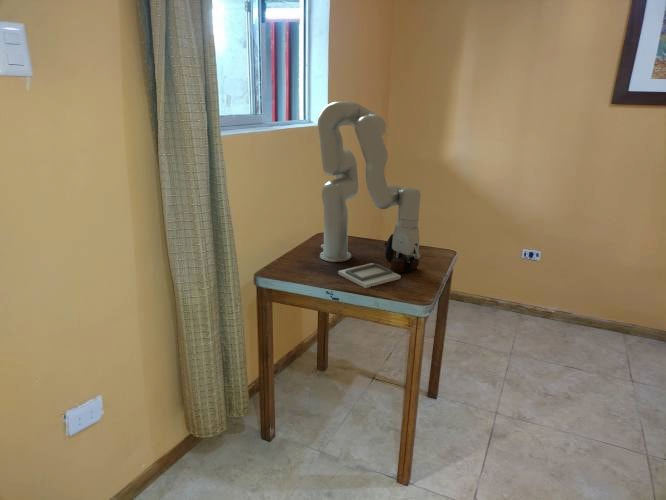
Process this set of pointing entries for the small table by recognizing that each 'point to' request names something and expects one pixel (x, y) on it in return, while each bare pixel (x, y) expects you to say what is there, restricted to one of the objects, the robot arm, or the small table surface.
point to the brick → (402, 264)
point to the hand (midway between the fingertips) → (404, 269)
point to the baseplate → (369, 275)
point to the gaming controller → (389, 249)
